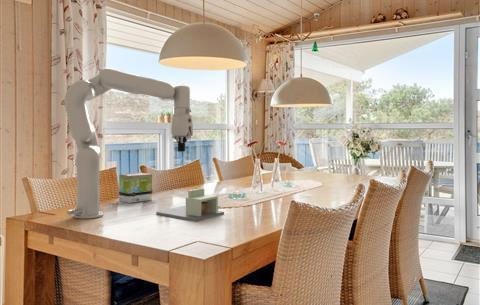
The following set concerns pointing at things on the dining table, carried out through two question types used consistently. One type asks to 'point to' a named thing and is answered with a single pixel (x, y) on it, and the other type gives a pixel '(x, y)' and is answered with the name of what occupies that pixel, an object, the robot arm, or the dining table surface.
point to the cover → (195, 202)
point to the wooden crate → (205, 208)
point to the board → (181, 214)
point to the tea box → (135, 187)
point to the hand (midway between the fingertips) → (181, 151)
